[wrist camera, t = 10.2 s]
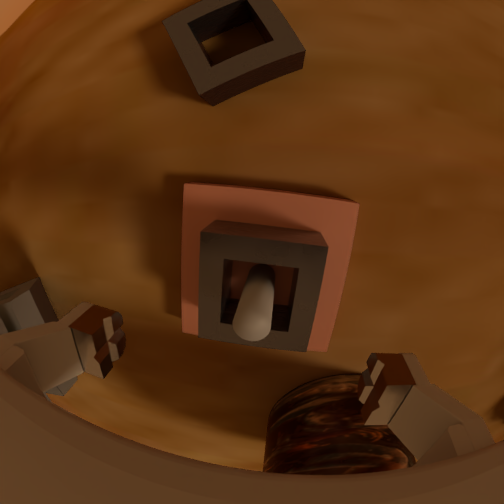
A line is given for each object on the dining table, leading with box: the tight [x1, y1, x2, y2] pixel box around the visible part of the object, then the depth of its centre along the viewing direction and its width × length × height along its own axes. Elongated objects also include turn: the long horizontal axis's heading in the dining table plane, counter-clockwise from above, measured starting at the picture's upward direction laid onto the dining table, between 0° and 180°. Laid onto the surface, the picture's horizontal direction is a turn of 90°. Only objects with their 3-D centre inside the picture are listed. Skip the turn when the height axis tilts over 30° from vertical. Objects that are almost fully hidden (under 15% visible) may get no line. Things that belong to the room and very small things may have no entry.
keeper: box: [181, 182, 359, 352], centre depth 15 cm, size 10×10×7 cm
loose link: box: [162, 0, 306, 106], centre depth 13 cm, size 6×6×3 cm
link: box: [198, 220, 329, 352], centre depth 15 cm, size 6×6×3 cm
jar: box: [263, 374, 416, 475], centre depth 15 cm, size 12×12×15 cm
